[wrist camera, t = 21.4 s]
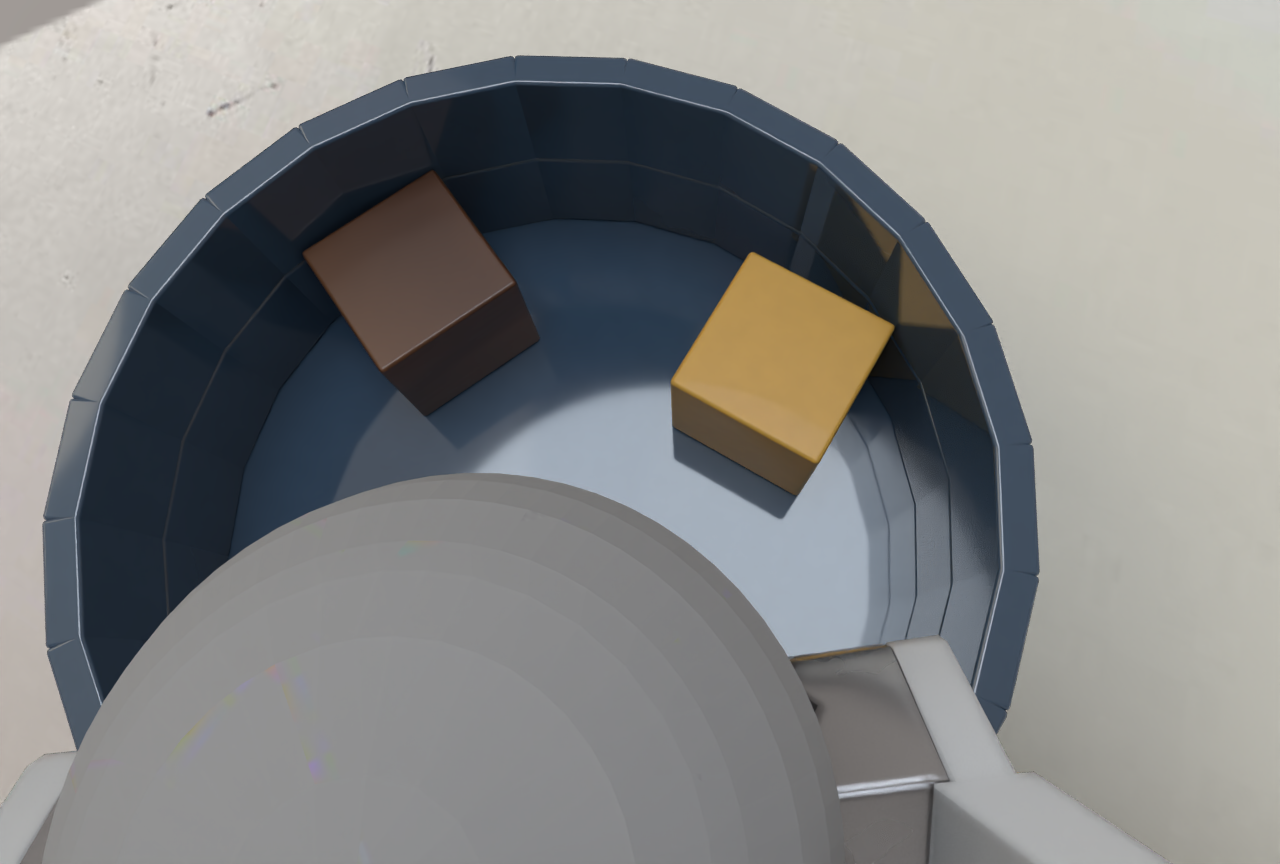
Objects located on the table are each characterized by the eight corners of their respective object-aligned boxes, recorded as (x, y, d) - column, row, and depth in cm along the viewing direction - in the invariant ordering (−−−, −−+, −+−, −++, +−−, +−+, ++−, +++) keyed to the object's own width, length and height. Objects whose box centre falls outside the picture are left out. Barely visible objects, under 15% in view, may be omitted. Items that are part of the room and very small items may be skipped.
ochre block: (797, 497, 19) (818, 464, 16) (670, 426, 19) (668, 382, 16) (865, 376, 19) (897, 324, 16) (741, 311, 20) (750, 248, 17)
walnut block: (425, 418, 19) (380, 373, 17) (353, 312, 20) (299, 251, 17) (541, 339, 20) (517, 282, 17) (467, 238, 21) (432, 166, 18)
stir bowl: (250, 1009, 17) (58, 1158, 12) (192, 282, 21) (29, 152, 16) (1035, 842, 17) (1189, 916, 12) (833, 151, 21) (882, -22, 16)
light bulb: (524, 518, 15) (249, 206, 5) (820, 701, 14) (1142, 731, 4) (324, 823, 14) (-494, 1139, 4) (631, 1046, 13) (502, 2130, 3)
